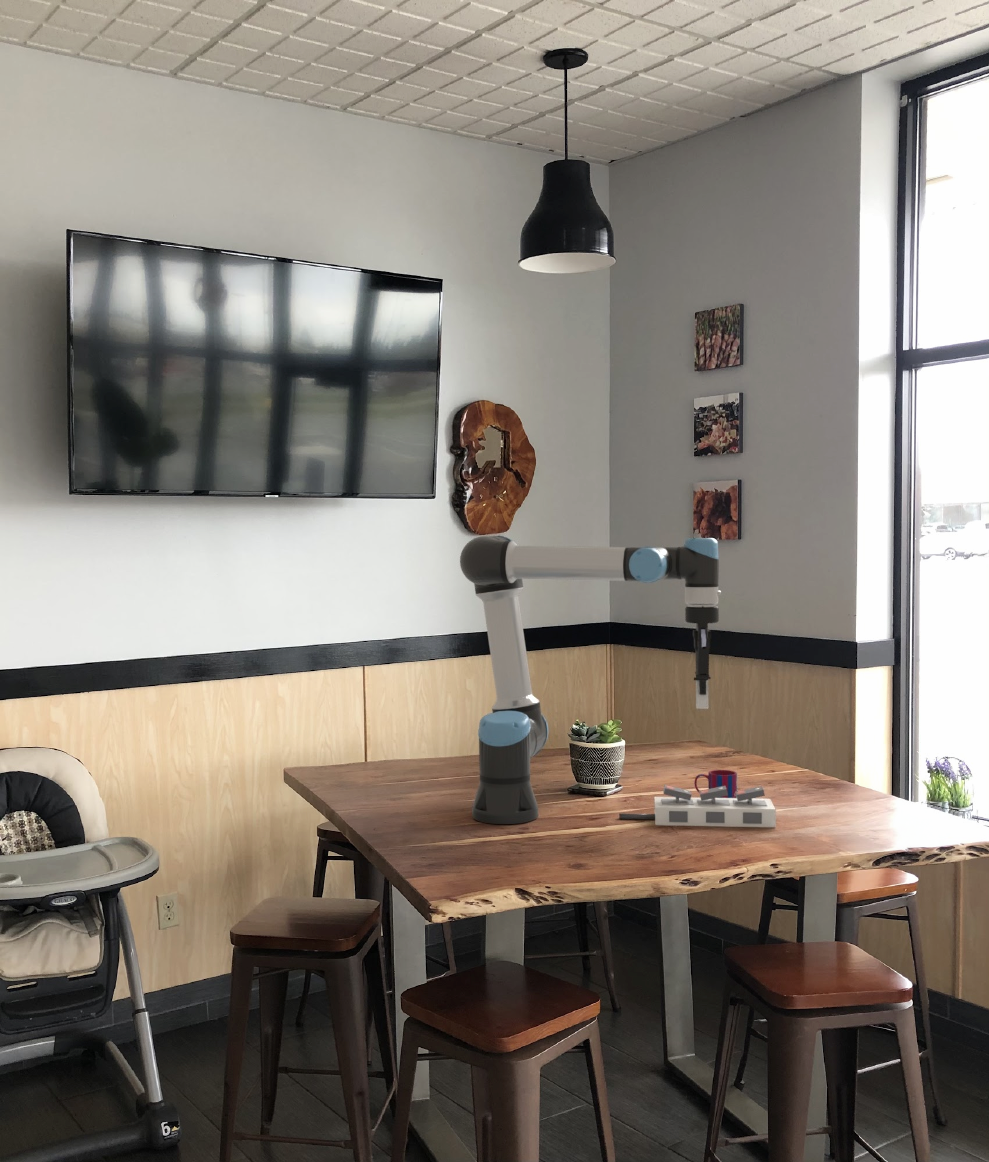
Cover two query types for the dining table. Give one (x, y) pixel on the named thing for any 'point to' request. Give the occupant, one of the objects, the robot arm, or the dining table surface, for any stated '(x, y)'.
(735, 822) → the strip
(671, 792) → the rocker left
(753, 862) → the dining table surface
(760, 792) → the rocker right
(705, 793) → the rocker mid
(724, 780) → the mug
